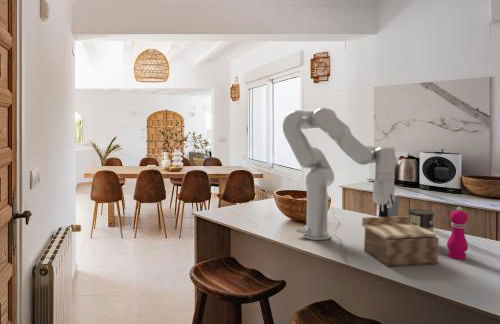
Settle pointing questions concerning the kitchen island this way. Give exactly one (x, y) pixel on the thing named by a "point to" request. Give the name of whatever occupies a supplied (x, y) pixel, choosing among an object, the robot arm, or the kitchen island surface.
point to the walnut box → (401, 250)
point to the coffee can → (422, 218)
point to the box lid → (395, 227)
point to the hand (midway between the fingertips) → (383, 219)
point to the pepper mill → (458, 235)
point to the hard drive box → (394, 209)
